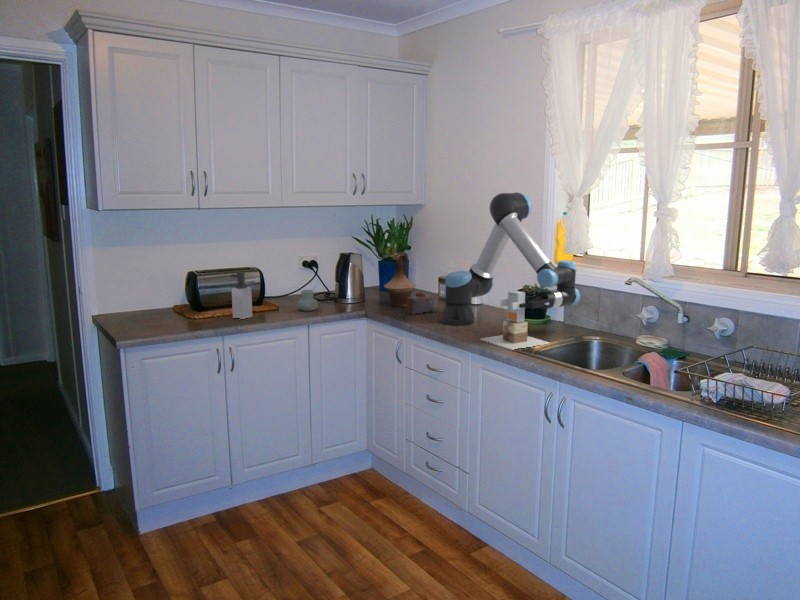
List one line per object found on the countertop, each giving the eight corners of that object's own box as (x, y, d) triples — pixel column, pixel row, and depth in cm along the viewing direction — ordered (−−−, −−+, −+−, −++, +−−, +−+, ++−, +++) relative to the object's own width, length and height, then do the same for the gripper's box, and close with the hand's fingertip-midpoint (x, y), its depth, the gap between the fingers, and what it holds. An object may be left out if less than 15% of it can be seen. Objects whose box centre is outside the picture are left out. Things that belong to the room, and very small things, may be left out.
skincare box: (506, 320, 262) (507, 291, 260) (514, 319, 264) (515, 290, 262) (517, 322, 257) (518, 293, 255) (524, 321, 259) (525, 292, 257)
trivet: (480, 339, 266) (480, 338, 266) (516, 334, 276) (516, 332, 276) (512, 350, 249) (512, 349, 249) (550, 344, 259) (550, 342, 259)
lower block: (502, 339, 263) (502, 330, 263) (515, 337, 267) (515, 328, 266) (514, 343, 258) (514, 333, 257) (527, 341, 261) (527, 331, 260)
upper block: (502, 330, 263) (503, 320, 262) (515, 328, 266) (516, 319, 265) (514, 333, 257) (514, 324, 256) (527, 331, 260) (527, 322, 260)
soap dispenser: (238, 315, 312) (236, 270, 308) (252, 317, 308) (250, 272, 304) (229, 318, 306) (227, 272, 302) (243, 319, 302) (241, 273, 298)
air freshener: (307, 307, 332) (306, 288, 330) (320, 309, 328) (320, 289, 327) (294, 311, 323) (293, 291, 321) (307, 312, 319) (307, 293, 317)
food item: (425, 309, 328) (425, 290, 327) (435, 311, 322) (435, 292, 321) (404, 312, 320) (404, 293, 318) (415, 315, 314) (415, 295, 312)
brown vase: (393, 300, 352) (393, 250, 346) (421, 303, 344) (422, 251, 339) (378, 306, 336) (378, 253, 331) (407, 309, 329) (407, 255, 323)
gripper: (565, 312, 261) (522, 318, 249) (532, 304, 277) (490, 309, 266) (566, 294, 260) (523, 299, 248) (533, 287, 276) (491, 292, 264)
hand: (506, 304), depth 257 cm, fingers open, 6 cm apart
